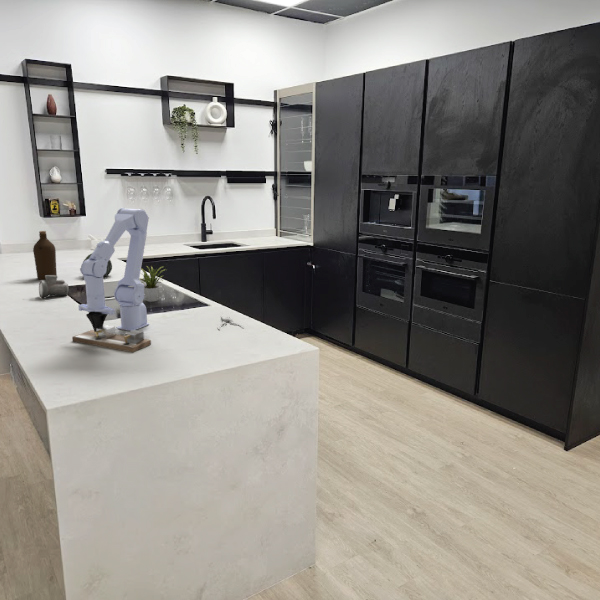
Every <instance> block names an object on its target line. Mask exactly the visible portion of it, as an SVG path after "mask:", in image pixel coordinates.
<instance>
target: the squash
mask: <svg viewBox="0 0 600 600" xmlns="http://www.w3.org/2000/svg"><path fill="white" fill-rule="evenodd" d="M91 255H92V253H90V254H88V255H87V256H86V257H85V259H83V261H82V263H83V262H84V261H85V260H87V259H89V258H90V256H91ZM112 263H113V262H112V261H111V258H110V259H109V261H108V264H107V271H106V273H105V274H104V276H103V278H106V276H109V275H110V273H111V272H112V269H113V264H112Z"/></svg>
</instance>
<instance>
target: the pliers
mask: <svg viewBox="0 0 600 600" xmlns="http://www.w3.org/2000/svg"><path fill="white" fill-rule="evenodd" d="M220 320H221V321H222V322H220V323H218V324H217V326H216V327H217V330H218V331H220V330H221V327H225V326H227V325H228V323H229V325H231V326H239V327H240V328H241V329H244V328H245V327H244V325H243V324H242V323H240V322H238V321H234V320H233V319H232V318H231V316H230V315H227V317H225V316H223V315H221V316H220ZM225 322H226V323H225ZM223 324H224V325H225V326H224V325H223ZM220 326H221V327H220Z"/></svg>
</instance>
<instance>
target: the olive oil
mask: <svg viewBox="0 0 600 600" xmlns="http://www.w3.org/2000/svg"><path fill="white" fill-rule="evenodd" d="M38 236H39V239H38V240H37V241H36V243H34V245H33V247H32V249H33V250H32V252H33V257H34V263H35V270H36V277H37V280H40V281H41V280H46V278H45V275H55V276H57V277H58V274H57V255H56V247H55V244H54V243H53V242H52V241H51V240H49V239H48V238H47V231H46V230H40V231H39V235H38Z"/></svg>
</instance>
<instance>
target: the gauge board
mask: <svg viewBox="0 0 600 600" xmlns="http://www.w3.org/2000/svg"><path fill="white" fill-rule="evenodd" d="M72 342H77V343H82V344H87V345H92V346H97V347H103V348H107V349H113V350H119V351H125V352H131V353H134V352H137V351H139V350H141V349H143V348H146V347H148V346H150V345H151V344H152V340H151V339H147V338H145V335H144V331H141V330H138V329H137V330H133V331H128V332H126V333H124V335H123V334H119V333H118V334H117V333H116V335H114V336H111V337H109V338H100V337H99V338H97V334H95V332H94V329H90V330H87V331H85V332H82V333H80V334H79V333H78V334H77V335H74V336H72Z"/></svg>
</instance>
